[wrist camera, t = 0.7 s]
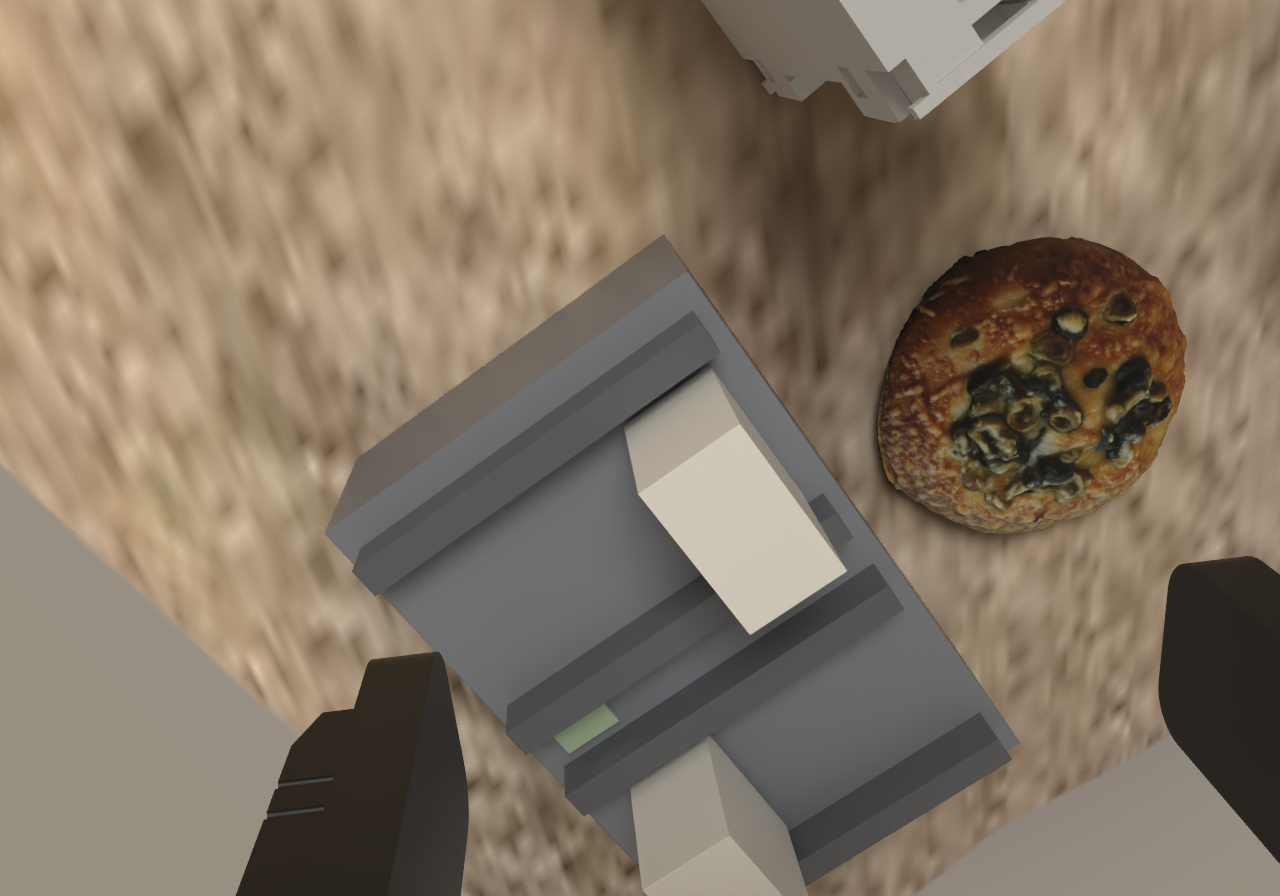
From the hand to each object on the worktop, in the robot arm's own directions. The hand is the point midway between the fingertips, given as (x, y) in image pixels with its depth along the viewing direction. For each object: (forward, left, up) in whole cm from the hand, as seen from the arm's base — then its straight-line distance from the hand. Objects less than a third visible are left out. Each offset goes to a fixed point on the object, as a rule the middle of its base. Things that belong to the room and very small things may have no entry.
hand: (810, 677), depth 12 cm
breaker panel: (+5, +10, -25) cm, 28 cm away
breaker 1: (+1, +5, -19) cm, 20 cm away
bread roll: (-8, +12, -26) cm, 30 cm away
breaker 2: (+8, +15, -19) cm, 26 cm away
